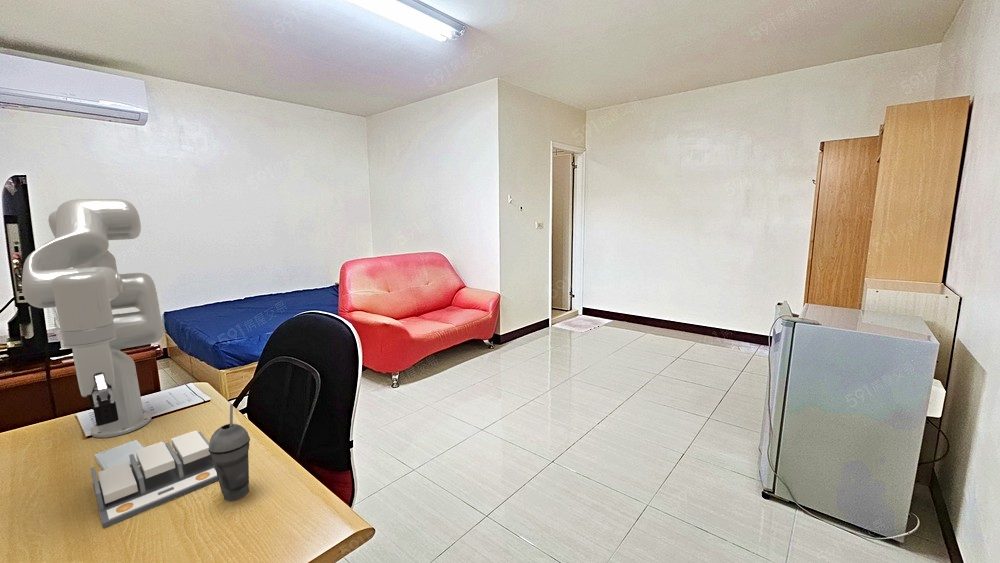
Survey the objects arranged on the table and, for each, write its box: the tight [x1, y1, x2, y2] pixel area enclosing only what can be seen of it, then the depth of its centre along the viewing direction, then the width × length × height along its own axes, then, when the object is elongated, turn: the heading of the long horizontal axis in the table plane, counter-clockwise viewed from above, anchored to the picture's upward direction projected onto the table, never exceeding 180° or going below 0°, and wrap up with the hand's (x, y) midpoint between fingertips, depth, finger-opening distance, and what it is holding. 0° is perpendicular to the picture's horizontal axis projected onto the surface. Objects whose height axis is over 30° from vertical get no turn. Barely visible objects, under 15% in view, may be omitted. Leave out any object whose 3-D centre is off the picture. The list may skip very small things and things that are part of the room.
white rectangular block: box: [135, 441, 175, 478], centre depth 93 cm, size 11×5×3 cm, turn 48°
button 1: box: [97, 462, 138, 504], centre depth 88 cm, size 11×5×3 cm, turn 48°
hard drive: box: [94, 439, 145, 470], centre depth 101 cm, size 2×8×12 cm
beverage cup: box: [209, 403, 251, 502], centre depth 86 cm, size 7×7×20 cm
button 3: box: [170, 429, 210, 464], centre depth 97 cm, size 11×5×3 cm, turn 48°
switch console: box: [90, 431, 219, 529], centre depth 92 cm, size 18×20×5 cm
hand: (104, 414), depth 86 cm, fingers open, 9 cm apart
